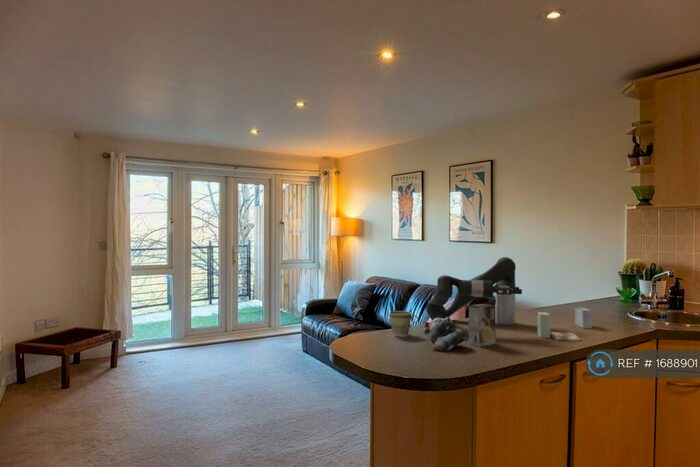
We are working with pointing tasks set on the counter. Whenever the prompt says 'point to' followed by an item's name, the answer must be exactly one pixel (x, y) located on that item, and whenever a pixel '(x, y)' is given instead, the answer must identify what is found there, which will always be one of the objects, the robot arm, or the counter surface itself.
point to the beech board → (564, 336)
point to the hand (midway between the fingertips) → (520, 290)
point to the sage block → (544, 324)
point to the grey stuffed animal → (443, 333)
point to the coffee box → (482, 325)
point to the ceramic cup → (401, 322)
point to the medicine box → (583, 317)
